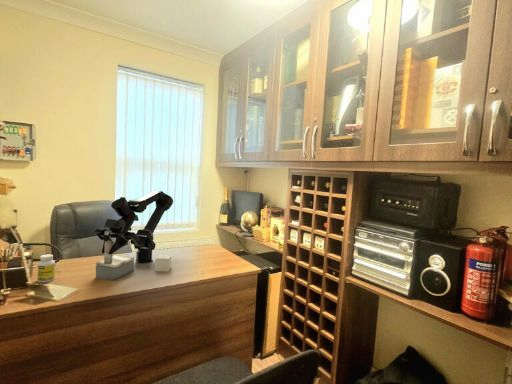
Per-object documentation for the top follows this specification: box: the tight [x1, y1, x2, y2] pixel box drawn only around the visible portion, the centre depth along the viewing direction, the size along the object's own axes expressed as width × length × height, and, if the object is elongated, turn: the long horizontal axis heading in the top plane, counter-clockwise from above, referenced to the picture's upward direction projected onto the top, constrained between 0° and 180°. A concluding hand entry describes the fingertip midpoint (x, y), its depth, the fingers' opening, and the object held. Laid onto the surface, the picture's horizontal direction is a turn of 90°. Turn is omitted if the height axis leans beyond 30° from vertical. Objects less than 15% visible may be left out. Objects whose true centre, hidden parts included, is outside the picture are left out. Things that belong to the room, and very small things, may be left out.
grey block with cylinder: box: [95, 240, 135, 268], centre depth 119 cm, size 12×9×10 cm
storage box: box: [95, 259, 135, 281], centre depth 119 cm, size 12×9×5 cm
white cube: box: [154, 254, 172, 272], centre depth 129 cm, size 6×6×6 cm
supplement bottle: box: [36, 253, 56, 283], centre depth 109 cm, size 5×5×10 cm
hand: (106, 253), depth 113 cm, fingers closed on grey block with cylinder, 3 cm apart
